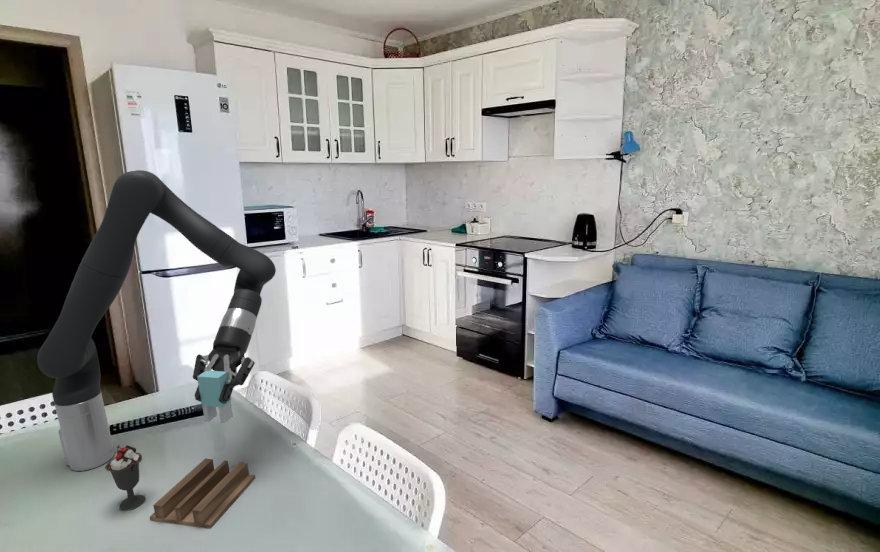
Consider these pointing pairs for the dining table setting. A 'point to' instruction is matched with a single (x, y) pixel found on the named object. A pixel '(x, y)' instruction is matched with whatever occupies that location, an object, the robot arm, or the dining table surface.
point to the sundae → (126, 475)
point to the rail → (203, 494)
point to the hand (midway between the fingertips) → (210, 401)
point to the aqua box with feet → (214, 395)
